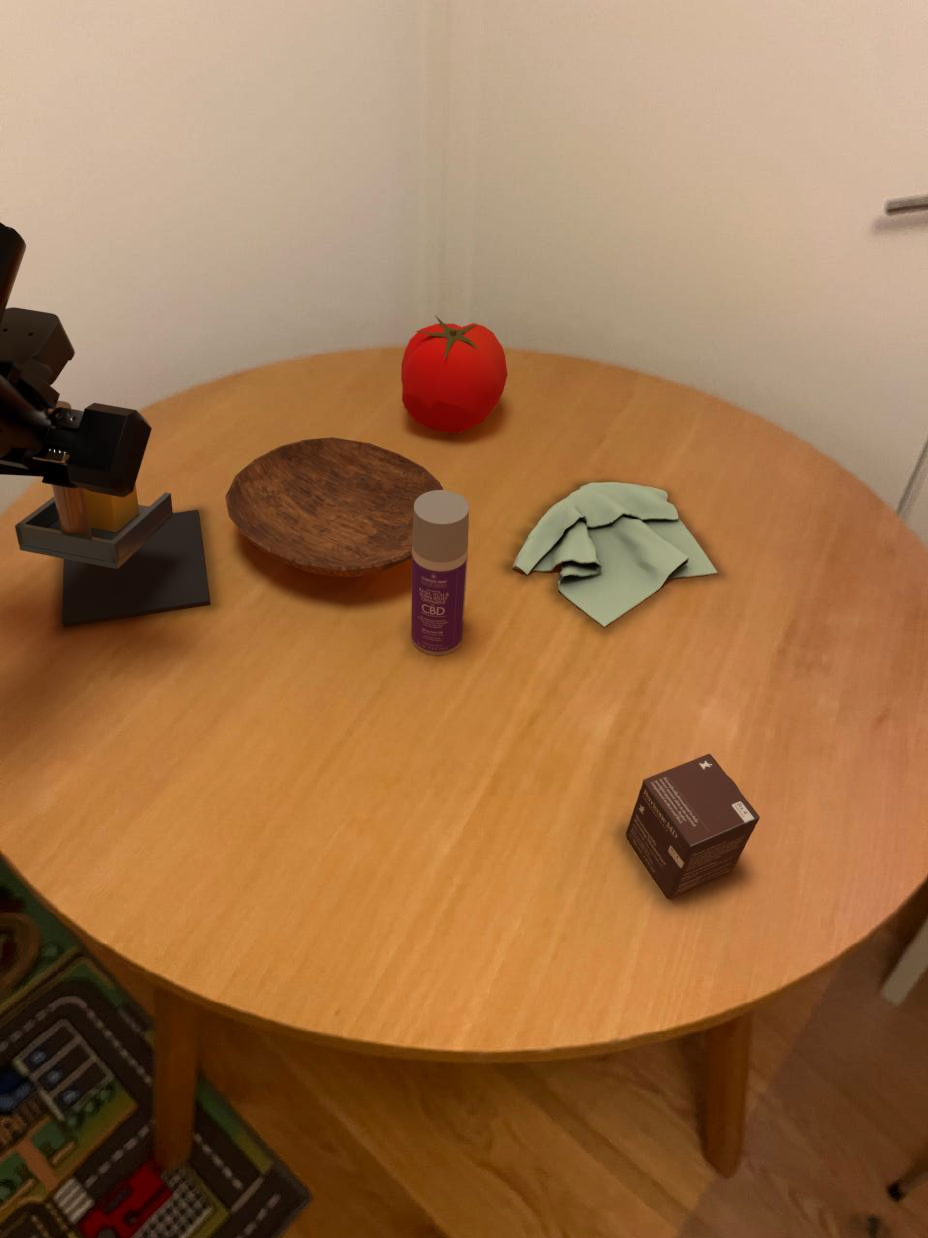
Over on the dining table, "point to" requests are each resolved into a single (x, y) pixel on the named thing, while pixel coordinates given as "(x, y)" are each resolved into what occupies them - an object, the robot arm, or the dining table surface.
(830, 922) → the dining table surface
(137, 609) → the mat
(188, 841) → the dining table surface
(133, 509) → the block
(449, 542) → the container
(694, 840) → the box
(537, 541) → the cloth
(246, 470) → the bowl
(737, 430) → the dining table surface
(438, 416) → the tomato
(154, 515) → the tray with wooden peg
